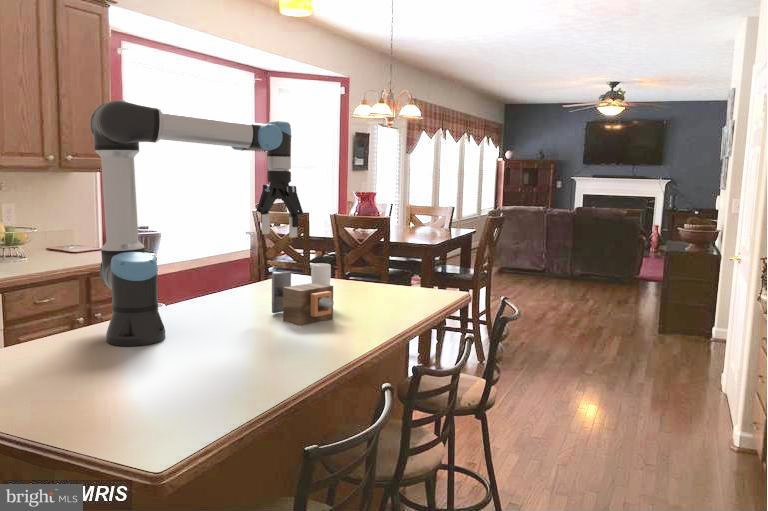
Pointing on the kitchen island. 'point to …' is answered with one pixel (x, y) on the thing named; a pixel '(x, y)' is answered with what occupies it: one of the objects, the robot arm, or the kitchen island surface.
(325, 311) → the orange square frame
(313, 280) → the drinking glass
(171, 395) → the kitchen island surface
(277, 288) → the shaft
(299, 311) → the bearing block
